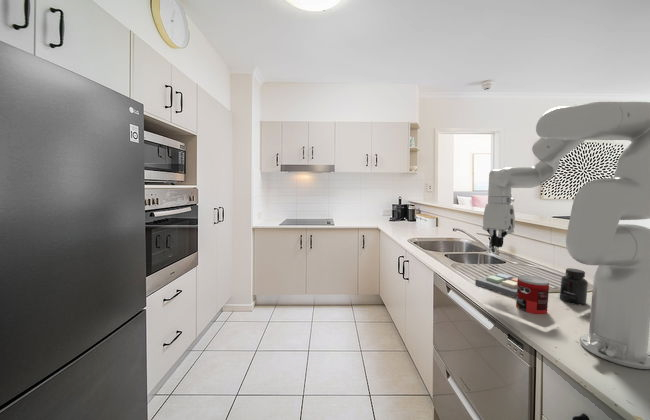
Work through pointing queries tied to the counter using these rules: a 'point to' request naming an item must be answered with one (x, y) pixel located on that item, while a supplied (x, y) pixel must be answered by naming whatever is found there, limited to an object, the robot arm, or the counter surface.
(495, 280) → the sage key
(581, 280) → the supplement bottle
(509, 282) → the sand key
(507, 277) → the slate key
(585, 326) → the counter surface
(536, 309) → the canned food
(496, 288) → the keypad
